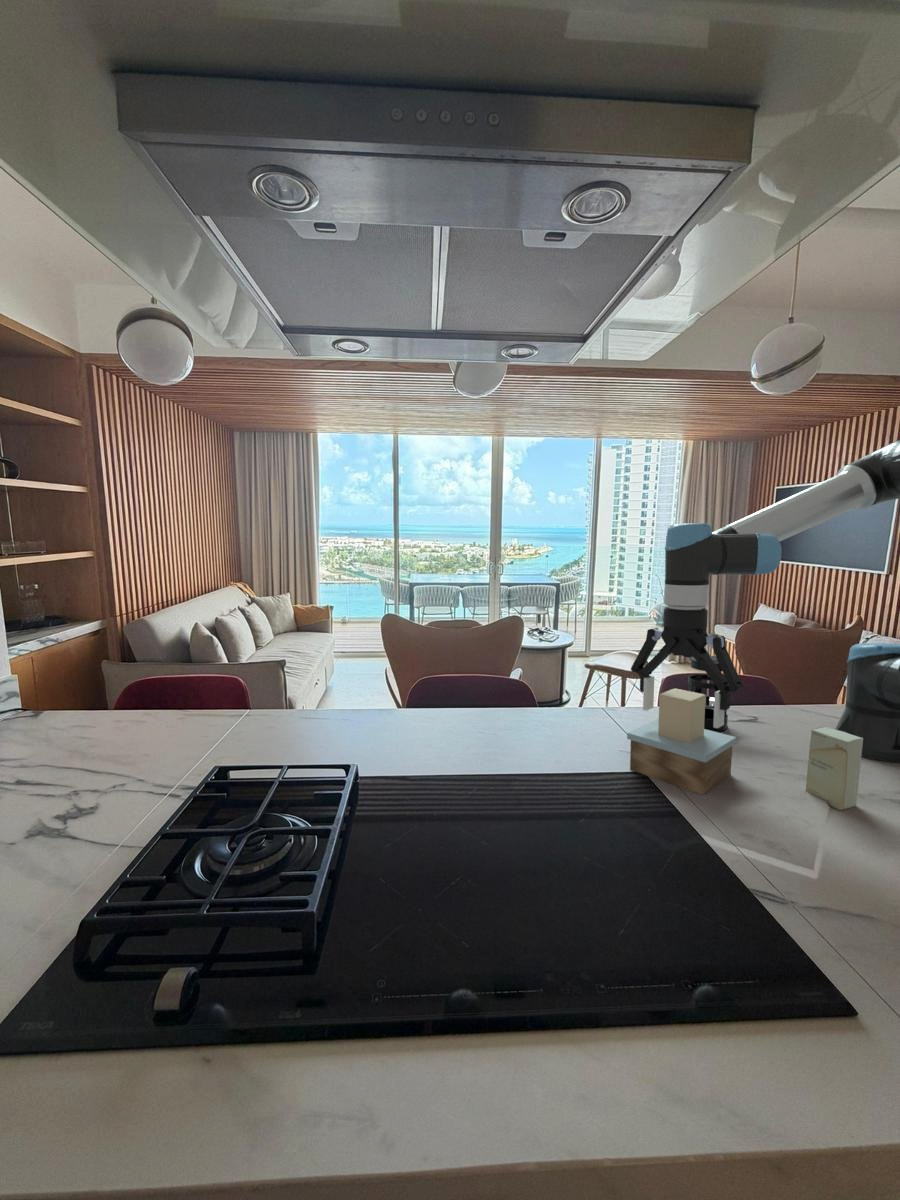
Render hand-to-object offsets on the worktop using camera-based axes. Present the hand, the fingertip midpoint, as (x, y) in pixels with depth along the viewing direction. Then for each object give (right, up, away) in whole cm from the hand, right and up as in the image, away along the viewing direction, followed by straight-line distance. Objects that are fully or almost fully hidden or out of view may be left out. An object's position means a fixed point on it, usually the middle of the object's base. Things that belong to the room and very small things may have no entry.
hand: (681, 717), depth 99 cm
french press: (+19, -9, +27) cm, 34 cm away
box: (0, -12, +1) cm, 12 cm away
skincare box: (+22, -13, -9) cm, 27 cm away
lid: (0, -5, +1) cm, 5 cm away
